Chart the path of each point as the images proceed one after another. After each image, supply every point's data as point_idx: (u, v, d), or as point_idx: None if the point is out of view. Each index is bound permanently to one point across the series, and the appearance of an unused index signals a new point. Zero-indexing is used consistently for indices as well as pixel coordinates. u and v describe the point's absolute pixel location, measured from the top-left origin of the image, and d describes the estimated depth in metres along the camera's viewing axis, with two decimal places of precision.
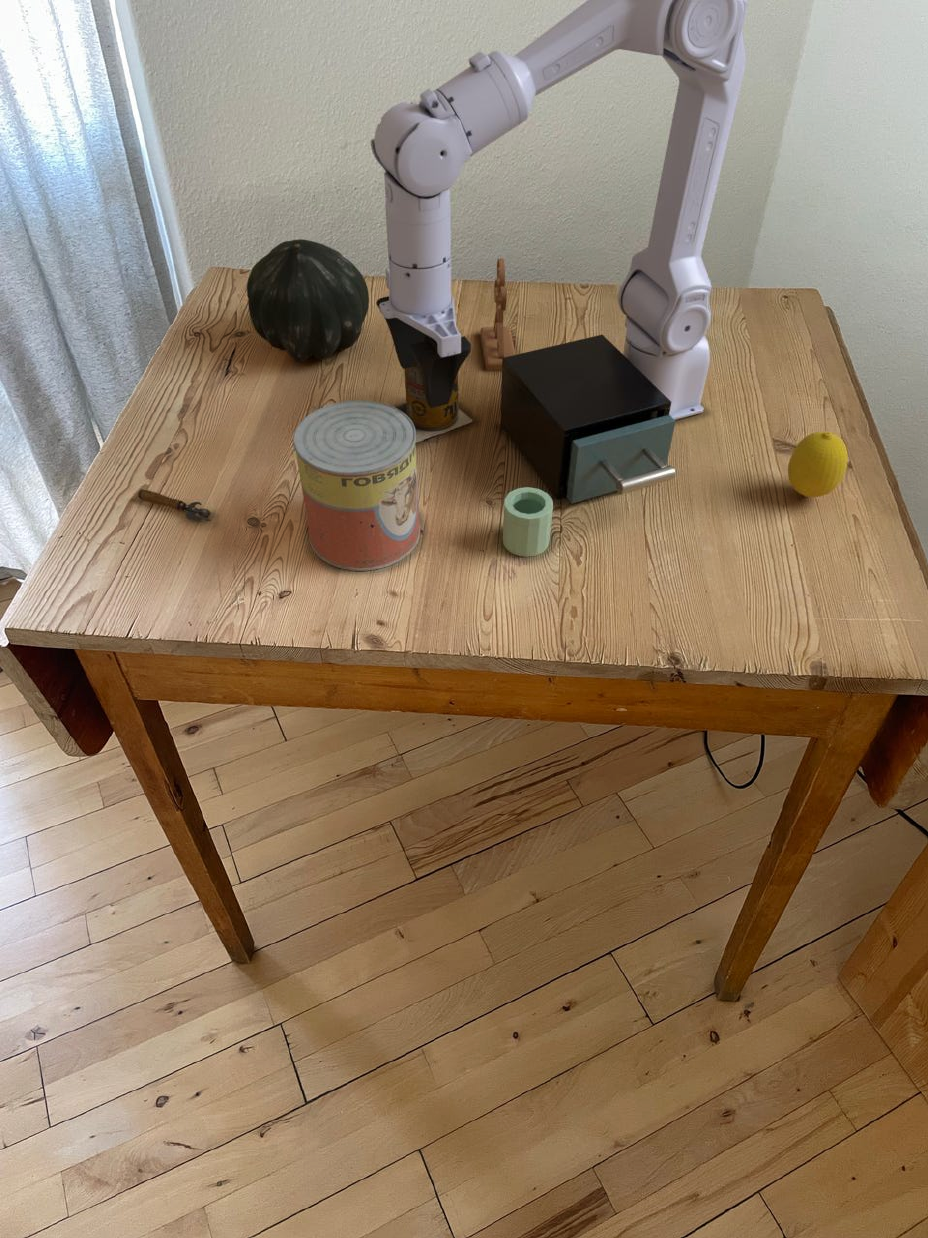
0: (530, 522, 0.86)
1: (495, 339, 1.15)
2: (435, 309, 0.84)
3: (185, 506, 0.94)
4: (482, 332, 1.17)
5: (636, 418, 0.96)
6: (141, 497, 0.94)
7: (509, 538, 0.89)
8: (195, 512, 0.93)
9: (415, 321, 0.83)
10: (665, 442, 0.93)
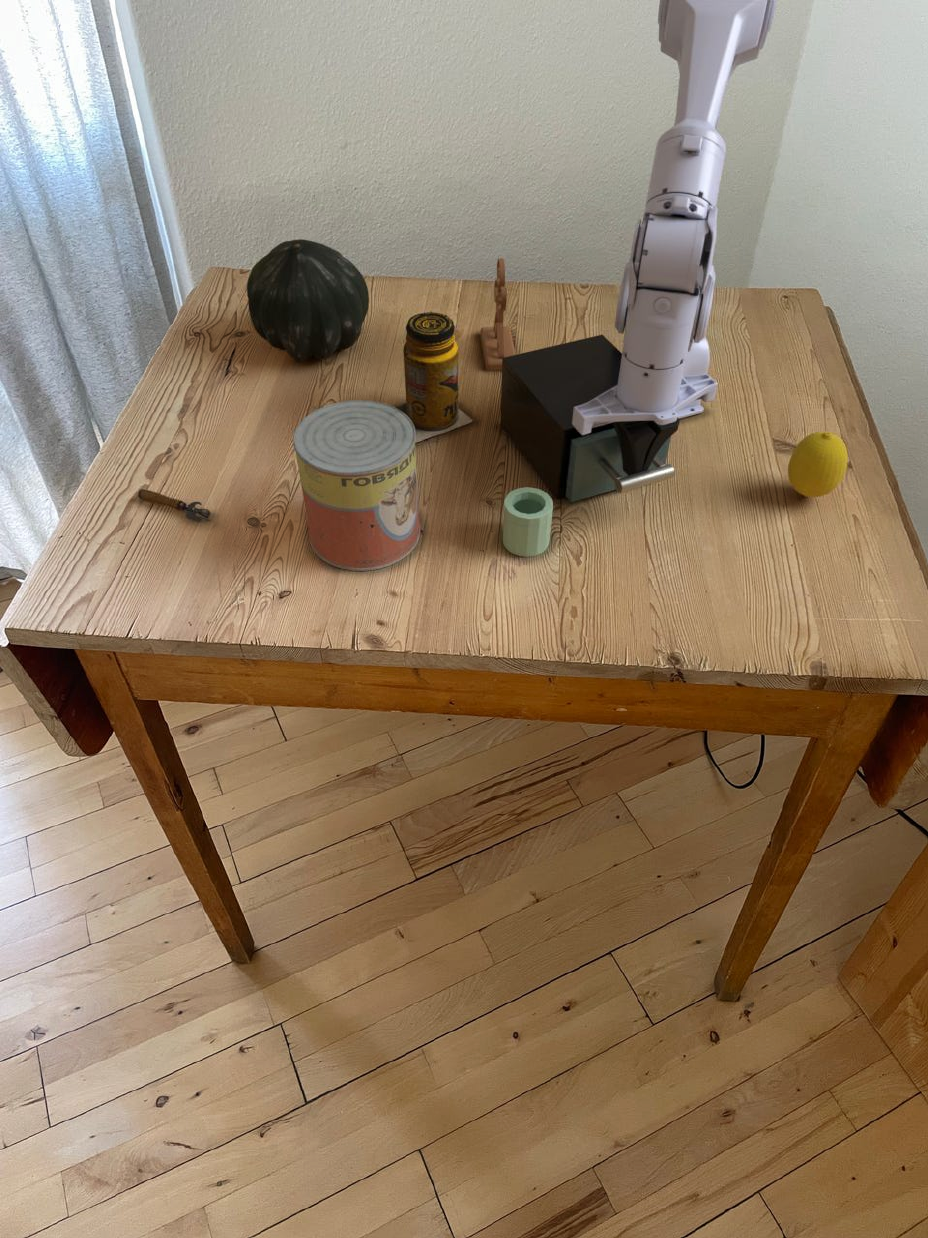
0: (530, 522, 0.86)
1: (495, 339, 1.15)
2: None
3: (185, 506, 0.94)
4: (482, 332, 1.17)
5: None
6: (141, 497, 0.94)
7: (509, 538, 0.89)
8: (195, 511, 0.93)
9: (689, 397, 0.84)
10: None
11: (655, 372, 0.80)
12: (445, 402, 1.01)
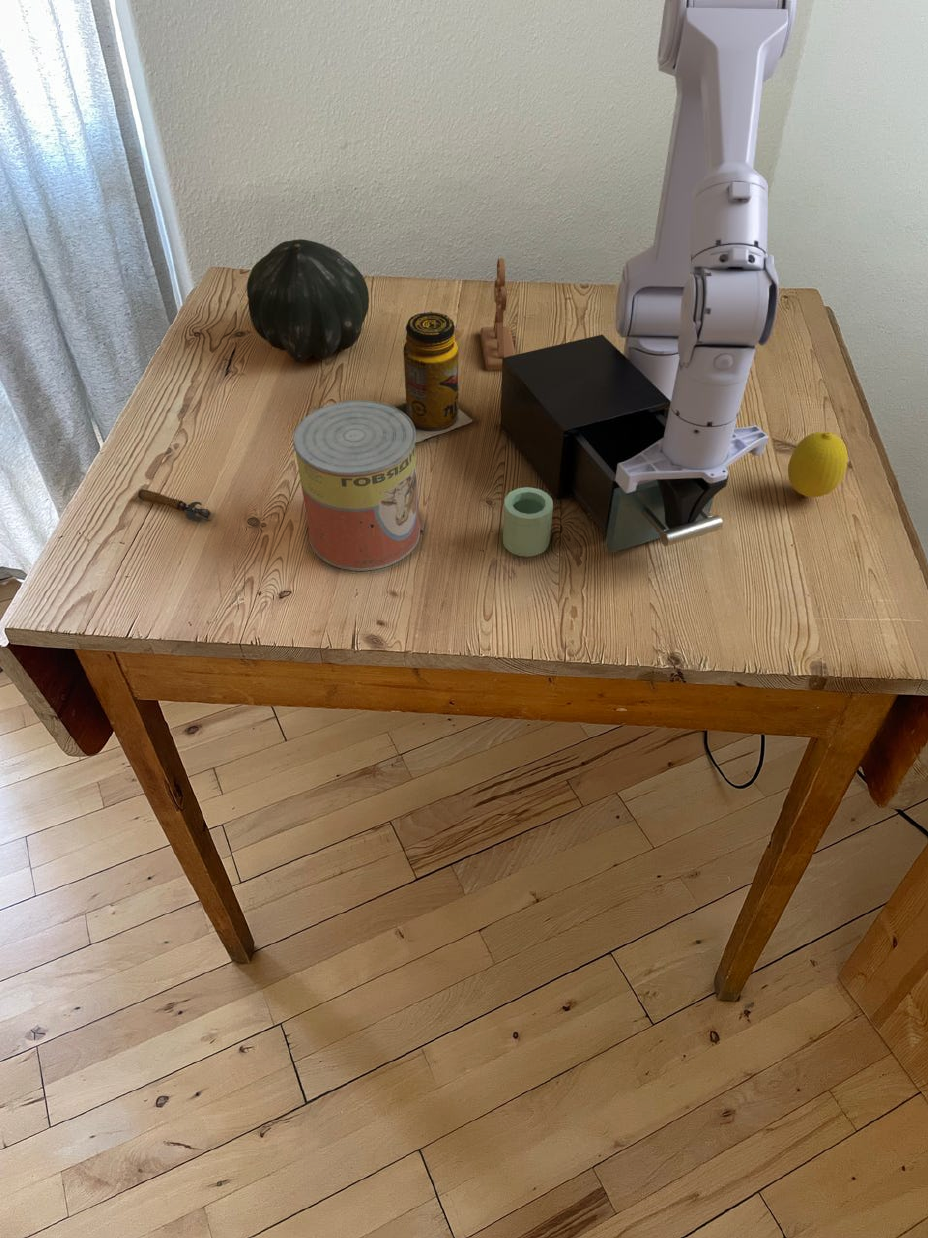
0: (530, 522, 0.86)
1: (495, 339, 1.15)
2: None
3: (185, 506, 0.94)
4: (482, 332, 1.17)
5: None
6: (141, 497, 0.94)
7: (509, 538, 0.89)
8: (195, 511, 0.93)
9: (739, 453, 0.80)
10: None
11: (706, 429, 0.75)
12: (445, 402, 1.01)
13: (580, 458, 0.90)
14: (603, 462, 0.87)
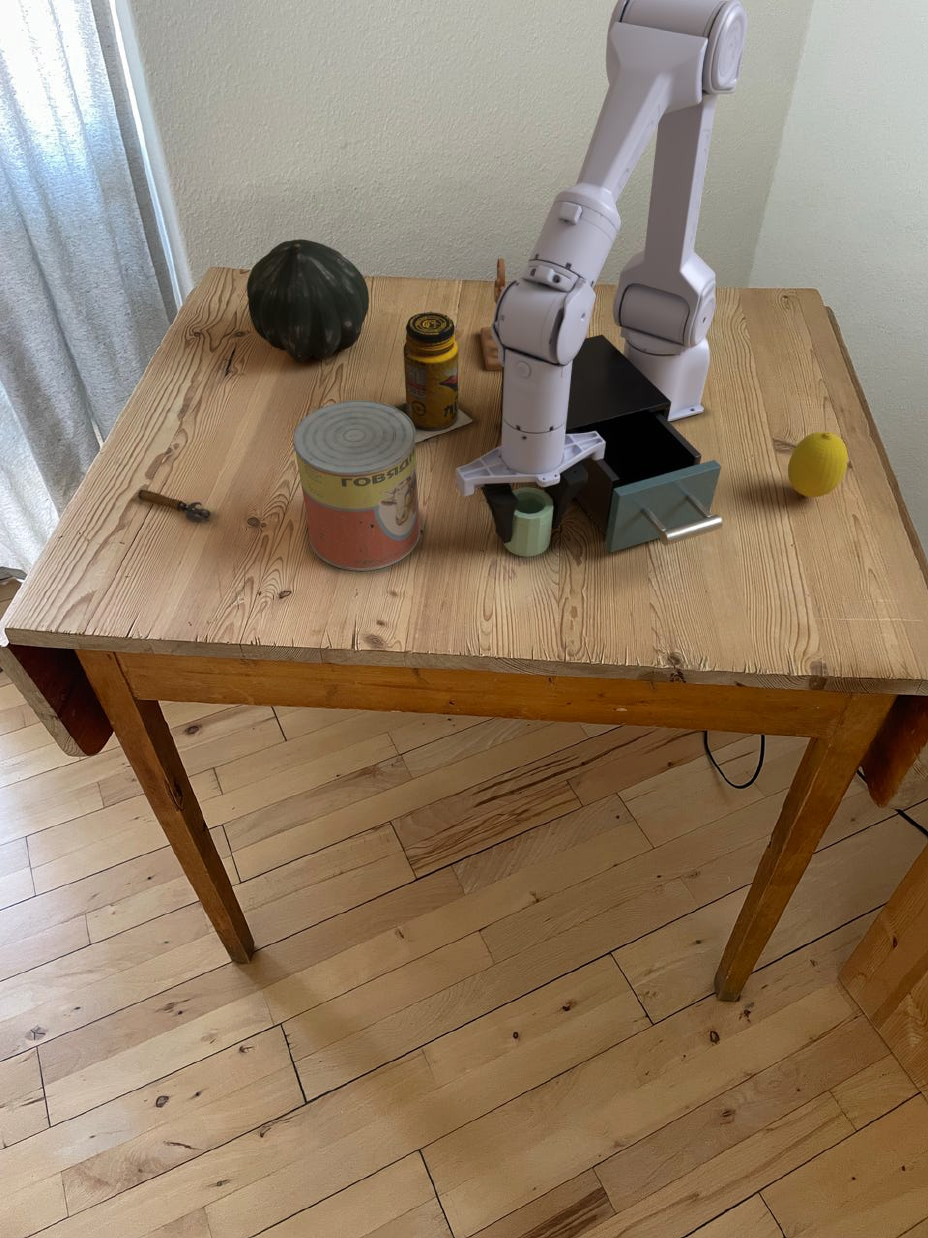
0: (531, 522, 0.86)
1: None
2: None
3: (185, 506, 0.94)
4: (482, 332, 1.17)
5: (677, 461, 0.91)
6: (141, 497, 0.94)
7: None
8: (195, 512, 0.93)
9: (574, 458, 0.83)
10: (710, 488, 0.88)
11: (533, 436, 0.78)
12: (445, 402, 1.01)
13: None
14: (603, 462, 0.87)
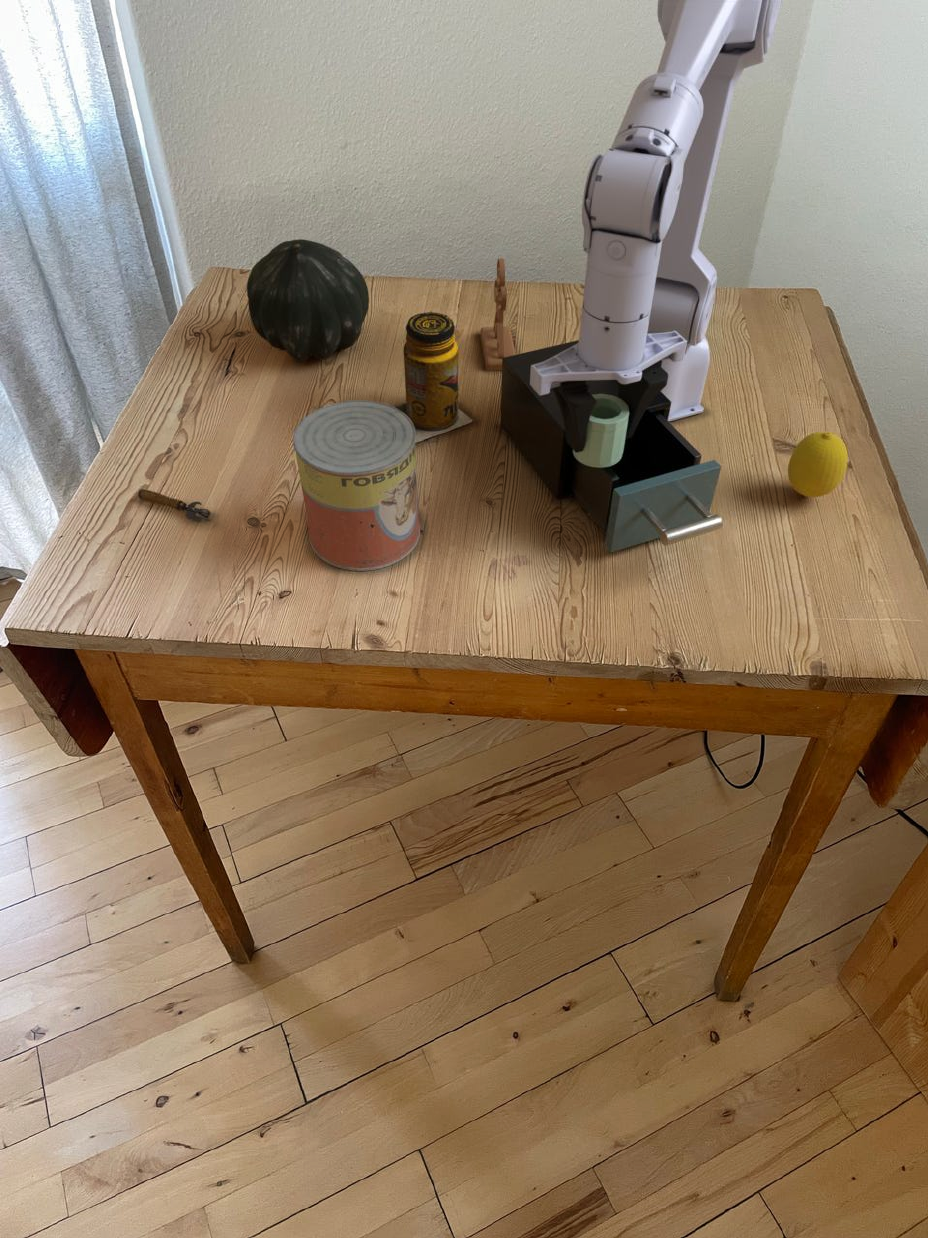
0: (606, 428, 0.82)
1: (495, 339, 1.15)
2: None
3: (185, 506, 0.94)
4: (482, 332, 1.17)
5: (677, 461, 0.91)
6: (141, 497, 0.94)
7: None
8: (195, 511, 0.93)
9: (656, 355, 0.79)
10: (710, 488, 0.88)
11: (616, 326, 0.74)
12: (445, 402, 1.01)
13: None
14: None
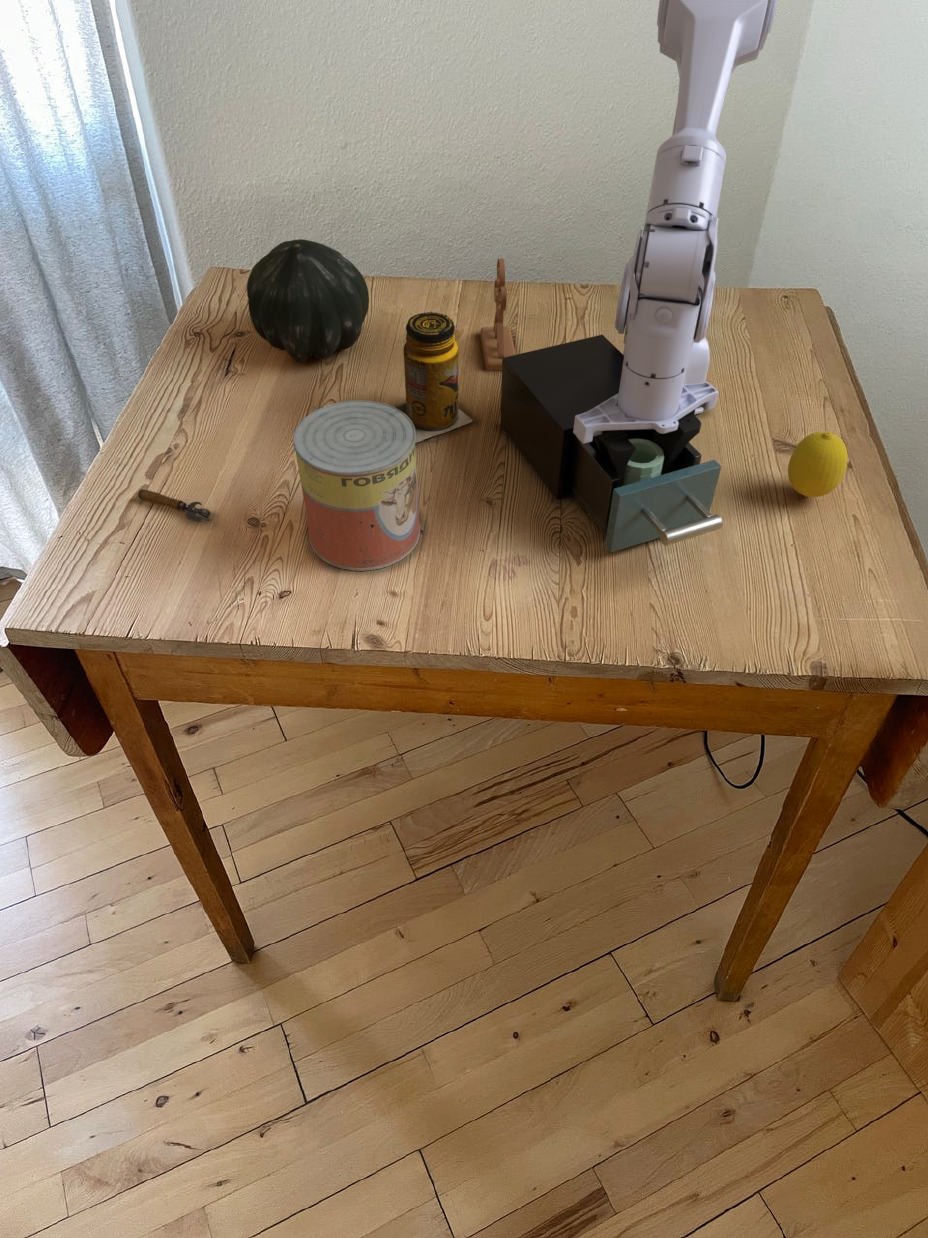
0: (643, 472, 0.88)
1: (495, 339, 1.15)
2: None
3: (185, 506, 0.94)
4: (482, 332, 1.17)
5: (677, 461, 0.91)
6: (141, 497, 0.94)
7: None
8: (195, 511, 0.93)
9: (690, 406, 0.85)
10: (710, 488, 0.88)
11: (656, 381, 0.80)
12: (445, 402, 1.01)
13: (580, 458, 0.90)
14: (603, 462, 0.87)
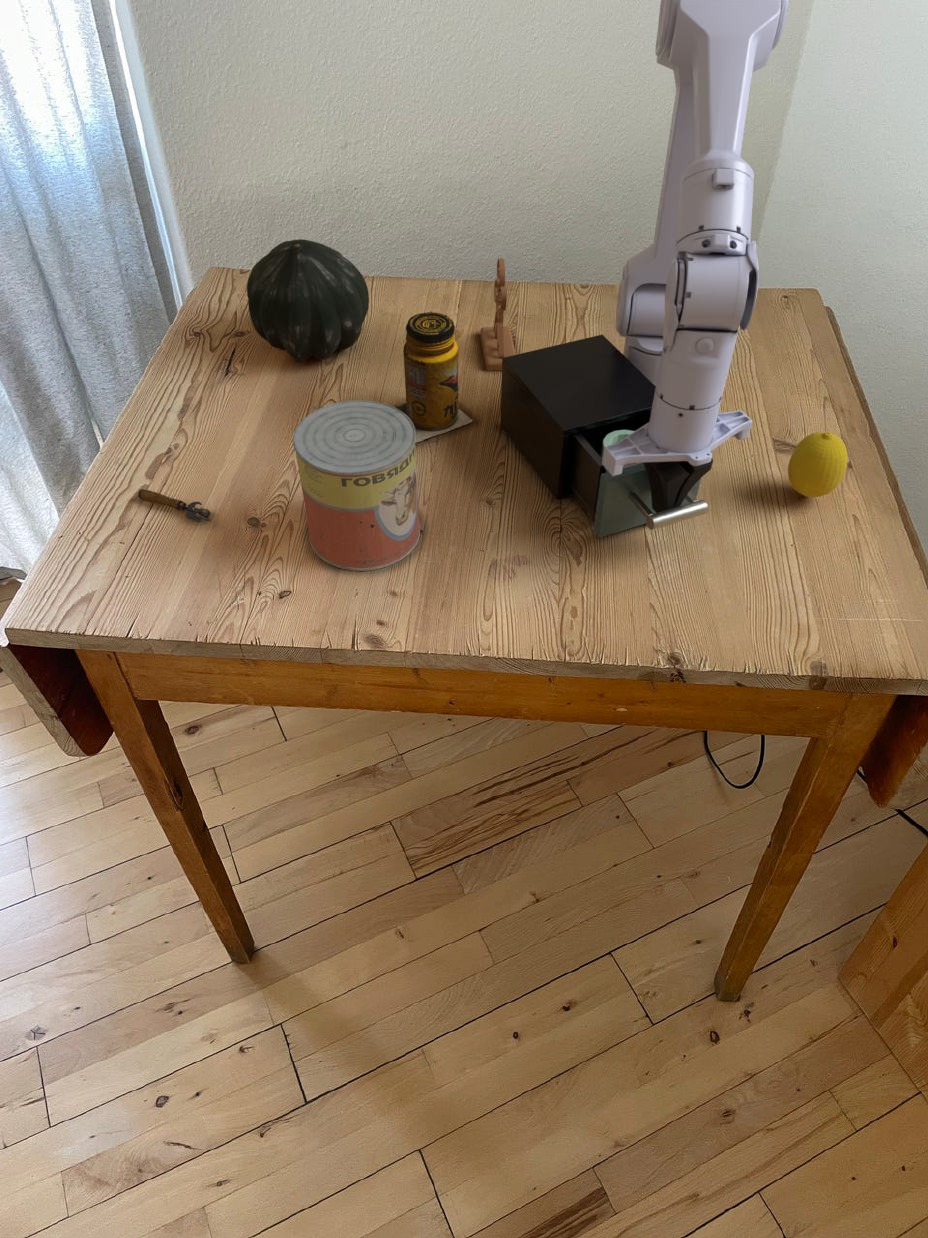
0: None
1: (495, 339, 1.15)
2: None
3: (185, 506, 0.94)
4: (482, 332, 1.17)
5: None
6: (141, 497, 0.94)
7: None
8: (195, 511, 0.93)
9: (724, 436, 0.81)
10: None
11: (690, 412, 0.76)
12: (445, 402, 1.01)
13: (569, 444, 0.92)
14: (591, 448, 0.89)
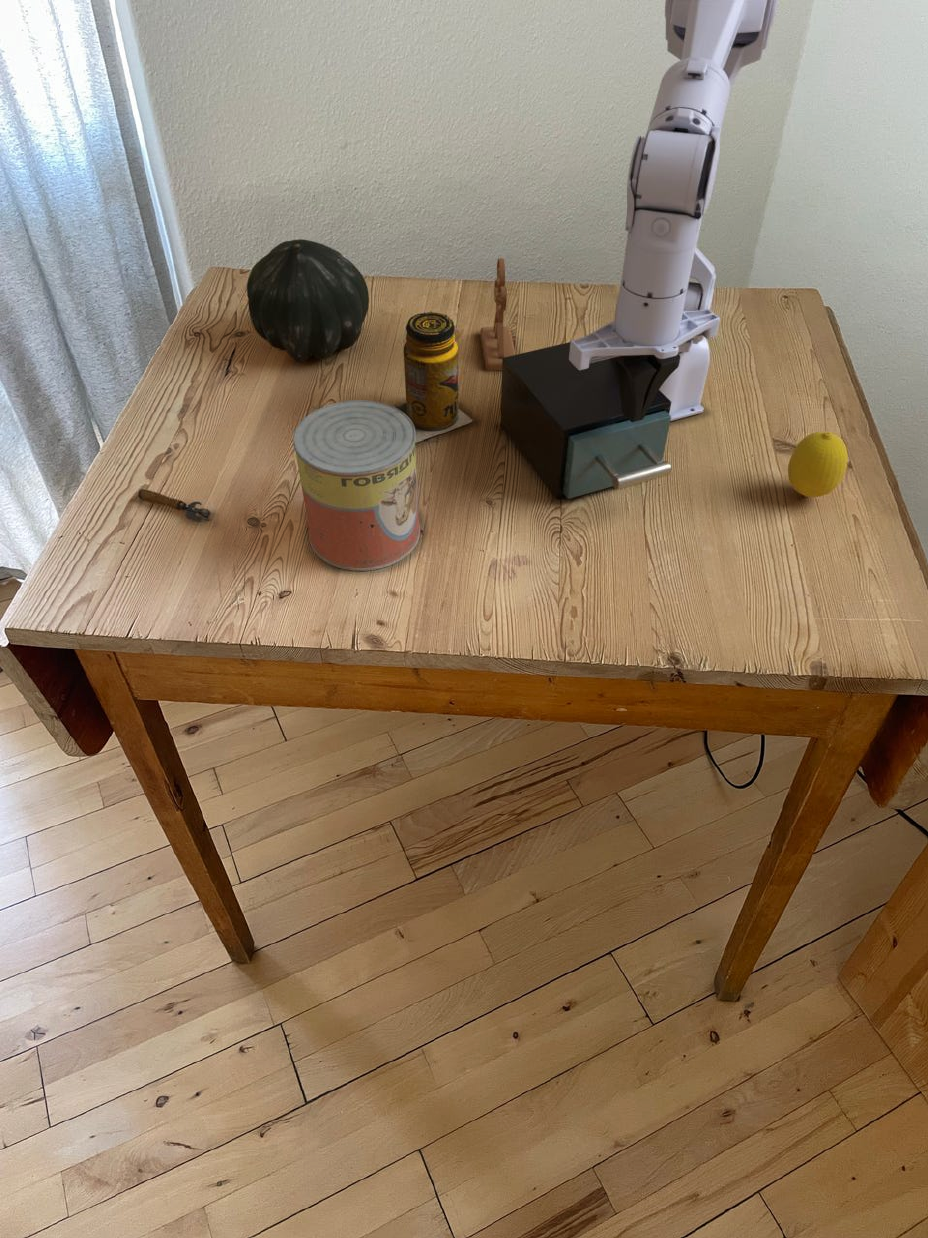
0: None
1: (495, 339, 1.15)
2: None
3: (185, 506, 0.94)
4: (482, 332, 1.17)
5: None
6: (141, 497, 0.94)
7: None
8: (195, 511, 0.93)
9: (691, 332, 0.81)
10: (661, 438, 0.94)
11: (655, 301, 0.76)
12: (445, 402, 1.01)
13: None
14: None
